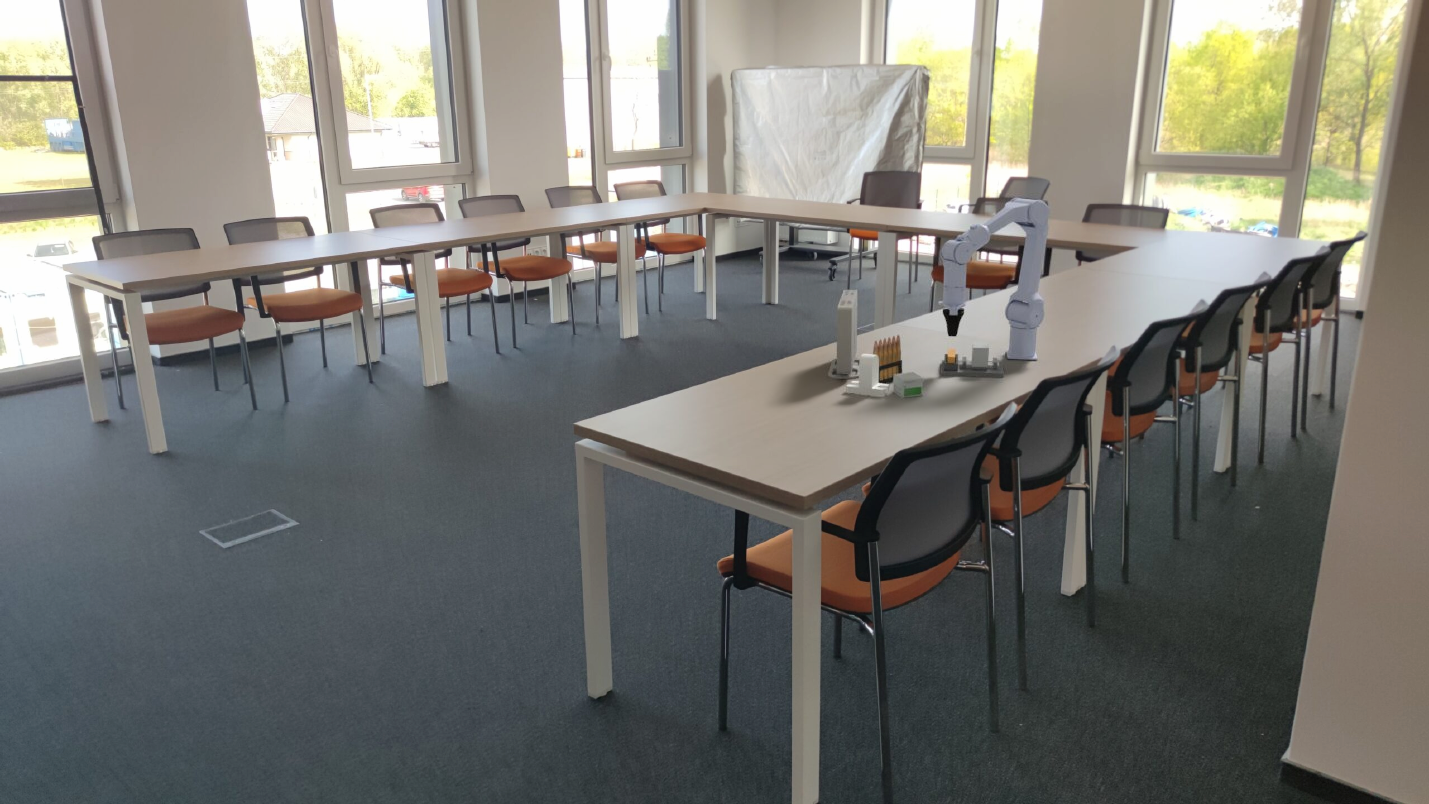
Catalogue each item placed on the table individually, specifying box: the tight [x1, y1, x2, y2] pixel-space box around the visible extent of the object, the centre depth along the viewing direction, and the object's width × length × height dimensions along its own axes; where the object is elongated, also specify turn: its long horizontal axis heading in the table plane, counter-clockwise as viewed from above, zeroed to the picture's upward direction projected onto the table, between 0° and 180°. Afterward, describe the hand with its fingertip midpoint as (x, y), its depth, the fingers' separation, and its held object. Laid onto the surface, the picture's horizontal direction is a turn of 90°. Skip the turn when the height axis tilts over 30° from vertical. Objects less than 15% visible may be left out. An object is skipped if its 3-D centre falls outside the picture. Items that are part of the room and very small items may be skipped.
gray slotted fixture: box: [943, 353, 1000, 371], centre depth 260 cm, size 10×14×2 cm
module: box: [971, 340, 990, 370], centre depth 258 cm, size 7×4×6 cm, turn 166°
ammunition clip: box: [872, 334, 903, 384], centre depth 250 cm, size 11×2×12 cm, turn 130°
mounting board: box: [940, 359, 1005, 378], centre depth 260 cm, size 12×16×1 cm
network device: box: [827, 289, 860, 380], centre depth 262 cm, size 26×9×20 cm, turn 168°
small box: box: [892, 371, 924, 399], centre depth 241 cm, size 6×6×5 cm
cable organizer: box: [846, 353, 890, 398], centre depth 242 cm, size 5×10×10 cm, turn 62°
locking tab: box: [947, 348, 956, 363], centre depth 260 cm, size 8×2×2 cm, turn 167°
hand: (952, 335), depth 259 cm, fingers closed
